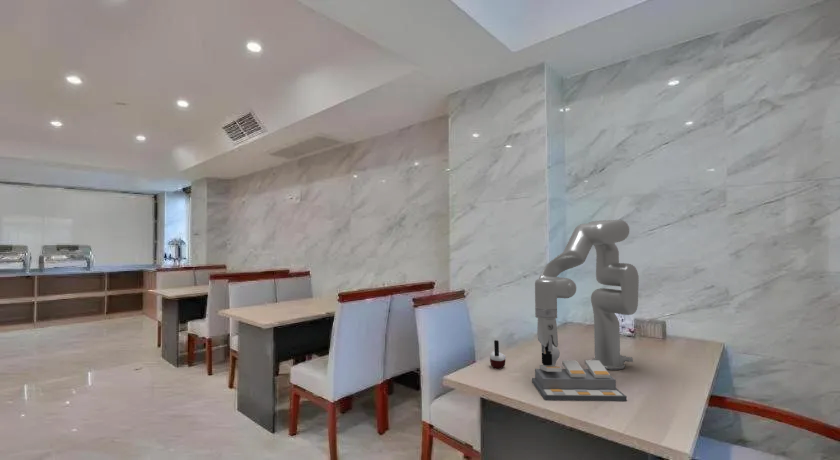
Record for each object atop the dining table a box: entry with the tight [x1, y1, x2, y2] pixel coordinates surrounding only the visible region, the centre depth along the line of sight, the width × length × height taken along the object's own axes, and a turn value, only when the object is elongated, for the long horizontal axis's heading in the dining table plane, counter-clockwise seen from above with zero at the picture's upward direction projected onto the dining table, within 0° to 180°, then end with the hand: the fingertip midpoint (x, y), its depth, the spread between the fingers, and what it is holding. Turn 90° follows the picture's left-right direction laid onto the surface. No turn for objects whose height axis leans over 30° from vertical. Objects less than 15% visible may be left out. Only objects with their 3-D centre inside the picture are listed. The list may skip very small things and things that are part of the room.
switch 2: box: [561, 359, 586, 377], centre depth 133 cm, size 5×9×1 cm, turn 178°
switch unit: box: [531, 368, 627, 402], centre depth 131 cm, size 26×16×5 cm, turn 88°
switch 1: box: [539, 364, 563, 372], centre depth 134 cm, size 5×9×1 cm, turn 178°
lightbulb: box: [552, 344, 560, 366], centre depth 149 cm, size 6×6×11 cm
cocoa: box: [489, 339, 507, 370], centre depth 156 cm, size 10×6×12 cm, turn 142°
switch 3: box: [584, 359, 611, 378], centre depth 133 cm, size 5×9×1 cm, turn 178°
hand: (546, 364), depth 137 cm, fingers closed
